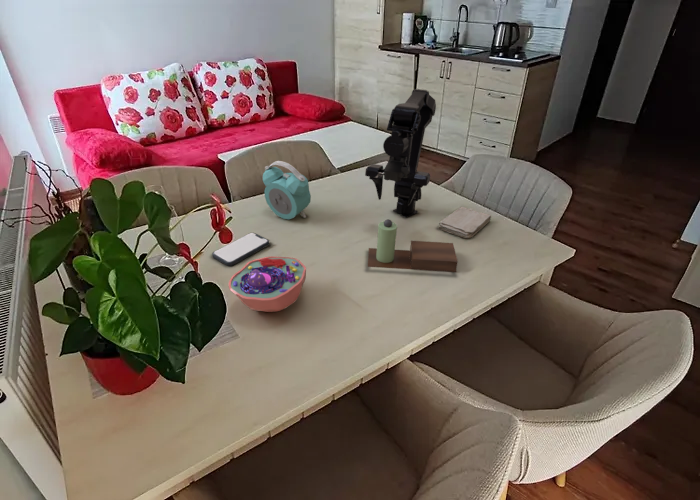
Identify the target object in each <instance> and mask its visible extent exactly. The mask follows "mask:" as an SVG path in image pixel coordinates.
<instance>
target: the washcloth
mask: <svg viewBox="0 0 700 500" xmlns="http://www.w3.org/2000/svg"><path fill="white" fill-rule="evenodd" d="M491 218H492V215H490V214H487V213H484V212H480V211H475V210H474V209H472V208H468V207H465V206H459V207H458V208H457V209H455V210H453V212H451V213H450V214H448V215H447V216H446V217H444V218H443V219H441V220H440V221H439V222H438V225H439V226H437V227H438V229H439V230H440V231H445V232H447V233H449V234H452V235H455V236H458V237H461V238H463V239H470V238H473V237H474V236H475V235H476V234H477V233H478V232H480V231H481V230H482V229H483V228H484V227H485V226H486V225H487V224H488V223H489V222H490V220H491Z"/></svg>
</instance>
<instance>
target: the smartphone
mask: <svg viewBox="0 0 700 500" xmlns="http://www.w3.org/2000/svg"><path fill="white" fill-rule="evenodd" d="M229 243H230V244H229ZM229 243H228V244H226V245H223V246H222V247H219V248H218V249H216V250H214V251H213V252H212V258H213V259H215V260H217V261H219V262H220V263H222V264H223V265H225V266H227V267H233V266H234V265H236V264H238V263H240V262H241V261H243V260H244V259H246V258H249V257H250V256H252V255H254V254H256V253H257V252H259V251H261V250H263V249H264V248H267V247H268V246H269V245H270V240H269V239H268V238H265V237H264V236H261V234H260V235H259V234H257V233H255V232H249V233H247V234H245V235H243V236H241V237H239V238H237V239H235V240H233V241H231V242H229Z"/></svg>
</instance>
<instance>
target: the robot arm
mask: <svg viewBox="0 0 700 500" xmlns="http://www.w3.org/2000/svg"><path fill="white" fill-rule="evenodd" d="M436 109H437V104H436V99H435V98H433V96H432V95H430V92H429V91H428V90H427V89H420V88H419V89H417V88H414V89H412V91H411V94H410V96H409V97H408V99H406V100H405V102H402V103H398V104H397V105H395V106H394V108H392V110H391V112H390V116H389V120H388V122H387V123H388V124H387V127H386V131H388V132H391V135H389V136H388V137H386V138H385V140H384V141H383V145H382V147H383V151H384V153H385V154H386V155H387V156H388V157H389V158H388V161H387V163H386V165H385V166H384V165H382V164H377V163H376V164H375V163H371V164H370V165H368V166H366V168H365V174H364V175H365V177H369V180H371V181H372V182H373V184H374V187H375V189H376V193H377V197H378V201H381V200H382V195H383V182H384V181H392V182H394V185H393V197H394V198H397V202H396V208H394V209H393V213H396V214H397V215H399V216H402V217H403V218H405V219H408V218H409V217H412V216H414V215H416V214H418V213H419V210H416V202H418V201H421V199H422V188H423V187H427V186H428V185H429V183H430V181H431V174H430V173H429V172H425V171H419V170H418V168H419V162H420V156H421V153H422V152H421V151H422V147H423V142H424V137H425V132H426V128H427V127H428V126H429V125H430V124H431V123H432V120H433V117H434V116H435V115H436V111H437V110H436Z"/></svg>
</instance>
